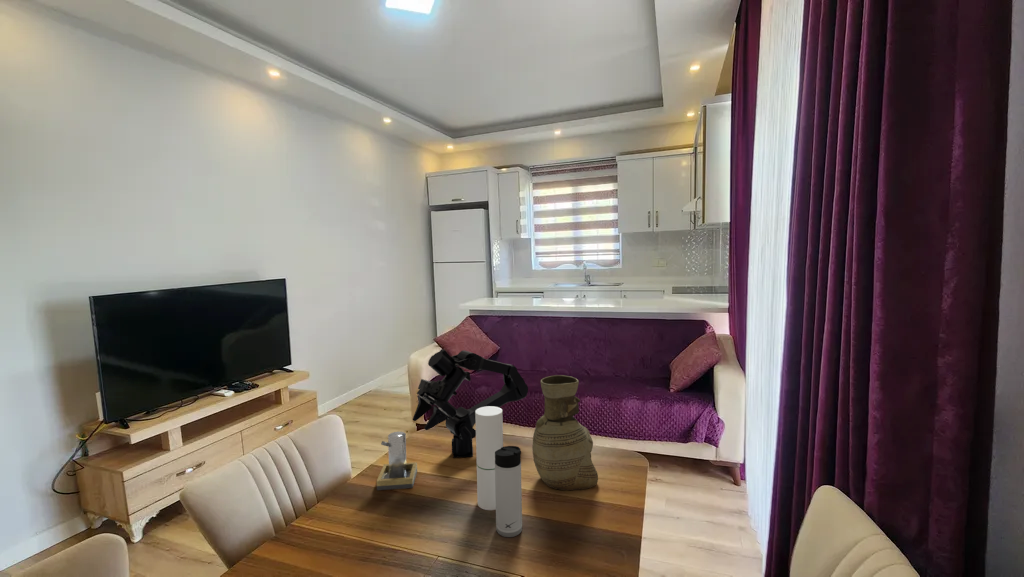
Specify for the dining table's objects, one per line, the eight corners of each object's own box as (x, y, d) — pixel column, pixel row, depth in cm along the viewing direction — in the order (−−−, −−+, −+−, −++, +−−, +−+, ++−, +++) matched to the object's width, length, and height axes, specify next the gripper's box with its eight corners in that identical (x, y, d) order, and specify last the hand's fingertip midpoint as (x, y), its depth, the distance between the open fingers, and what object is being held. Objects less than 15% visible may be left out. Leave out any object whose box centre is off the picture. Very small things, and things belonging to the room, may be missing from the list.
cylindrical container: (505, 495, 115) (503, 406, 113) (502, 510, 108) (500, 416, 106) (480, 494, 116) (477, 406, 114) (475, 509, 109) (472, 415, 107)
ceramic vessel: (603, 466, 130) (602, 371, 128) (593, 503, 110) (592, 392, 109) (544, 457, 137) (542, 367, 135) (524, 491, 117) (522, 386, 115)
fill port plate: (417, 470, 130) (416, 462, 129) (412, 487, 120) (412, 478, 120) (384, 472, 129) (383, 464, 129) (376, 490, 119) (376, 481, 119)
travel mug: (512, 542, 96) (511, 457, 95) (490, 531, 100) (489, 449, 99) (528, 527, 101) (527, 447, 100) (506, 518, 105) (505, 440, 103)
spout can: (401, 470, 128) (400, 430, 127) (409, 476, 124) (408, 435, 123) (378, 478, 123) (377, 437, 122) (386, 485, 119) (385, 442, 118)
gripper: (421, 364, 141) (390, 403, 135) (446, 375, 126) (413, 420, 120) (443, 382, 146) (414, 421, 140) (470, 396, 131) (438, 439, 125)
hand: (419, 424), depth 131 cm, fingers open, 9 cm apart
